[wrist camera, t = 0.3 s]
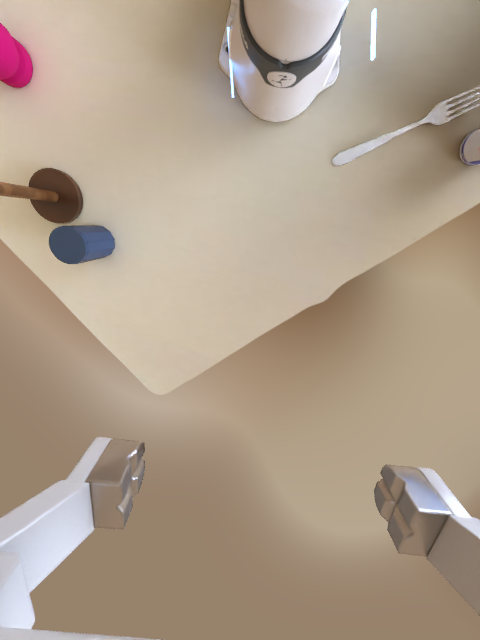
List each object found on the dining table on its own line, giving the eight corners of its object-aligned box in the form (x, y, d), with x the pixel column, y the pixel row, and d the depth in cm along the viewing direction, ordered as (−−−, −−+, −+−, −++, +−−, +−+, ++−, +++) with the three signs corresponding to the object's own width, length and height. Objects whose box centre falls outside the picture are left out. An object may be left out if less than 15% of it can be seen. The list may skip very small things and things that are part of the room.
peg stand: (29, 166, 48) (-49, 145, 35) (80, 172, 48) (21, 154, 35) (36, 220, 51) (-33, 218, 38) (84, 225, 51) (31, 226, 38)
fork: (329, 153, 46) (332, 150, 45) (476, 85, 43) (485, 80, 41) (334, 172, 47) (337, 170, 46) (478, 108, 44) (487, 103, 42)
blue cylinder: (83, 224, 51) (46, 224, 41) (113, 227, 51) (84, 228, 41) (85, 255, 53) (51, 262, 43) (115, 258, 53) (87, 266, 43)
